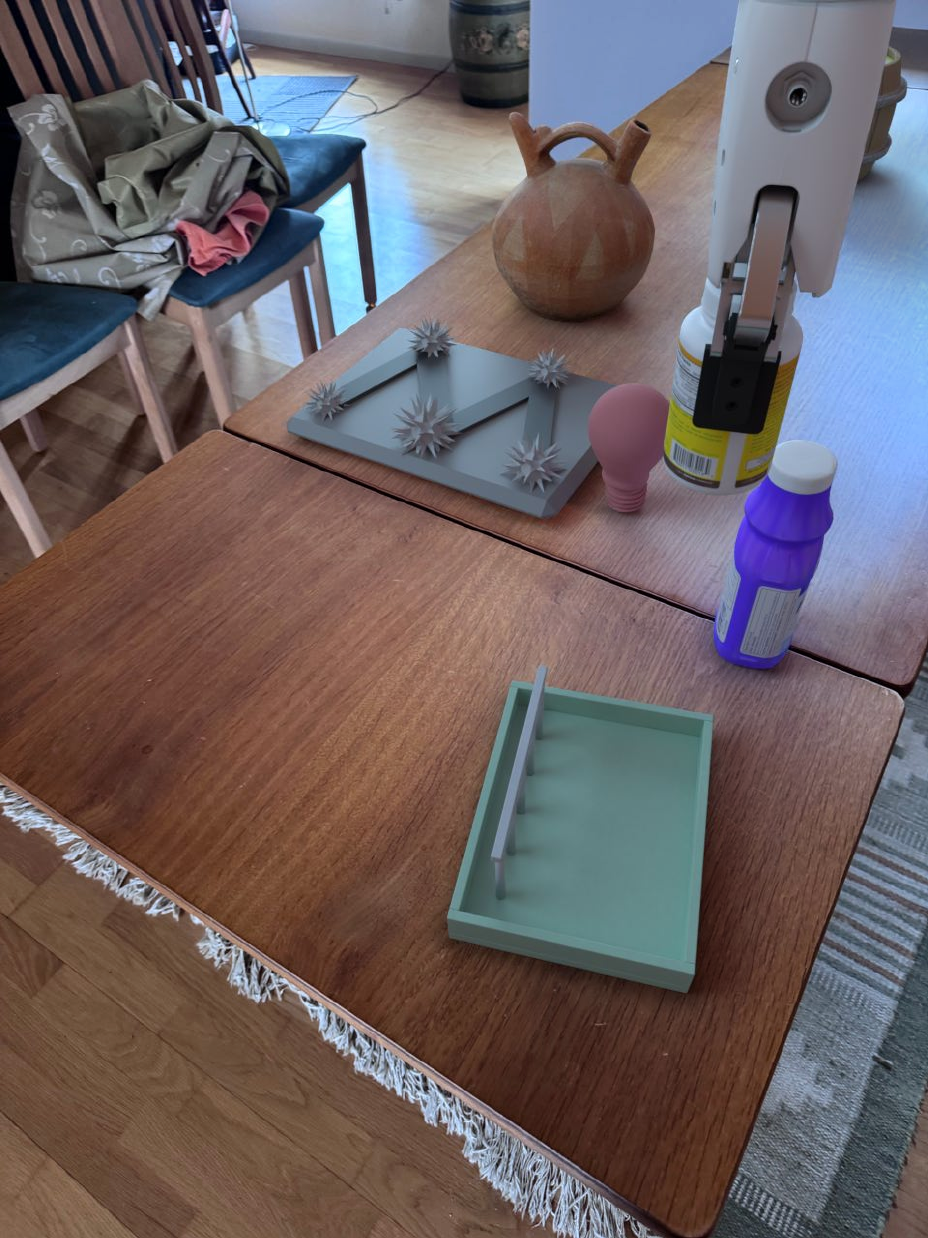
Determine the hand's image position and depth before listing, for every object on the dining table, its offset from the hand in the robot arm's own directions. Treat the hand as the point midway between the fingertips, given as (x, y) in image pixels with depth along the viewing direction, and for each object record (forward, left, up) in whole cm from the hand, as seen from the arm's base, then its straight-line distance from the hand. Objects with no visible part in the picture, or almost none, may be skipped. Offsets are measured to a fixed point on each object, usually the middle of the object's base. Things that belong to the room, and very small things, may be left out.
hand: (731, 387), depth 43 cm
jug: (+17, -60, -28) cm, 68 cm away
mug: (-12, -103, -28) cm, 108 cm away
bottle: (-6, -9, -28) cm, 30 cm away
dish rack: (+4, +10, -27) cm, 29 cm away
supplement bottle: (0, 0, -5) cm, 5 cm away
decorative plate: (+23, -33, -28) cm, 48 cm away
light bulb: (+6, -23, -28) cm, 36 cm away
